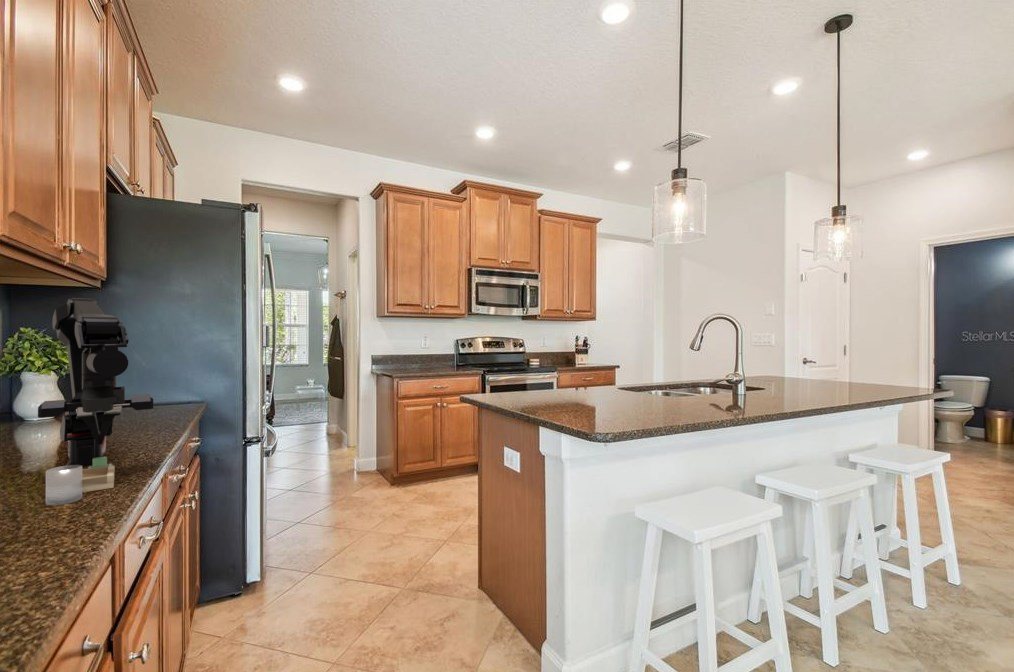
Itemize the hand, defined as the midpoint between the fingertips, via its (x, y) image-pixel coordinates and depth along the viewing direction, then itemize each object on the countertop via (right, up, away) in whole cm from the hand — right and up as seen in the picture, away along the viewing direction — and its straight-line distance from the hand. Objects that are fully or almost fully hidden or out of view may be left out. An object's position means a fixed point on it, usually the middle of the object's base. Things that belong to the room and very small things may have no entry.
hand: (99, 444), depth 102 cm
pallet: (+3, -7, -7) cm, 10 cm away
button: (0, -7, 0) cm, 7 cm away
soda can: (-16, -7, +14) cm, 22 cm away
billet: (+6, -7, -15) cm, 18 cm away
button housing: (0, -7, 0) cm, 7 cm away
